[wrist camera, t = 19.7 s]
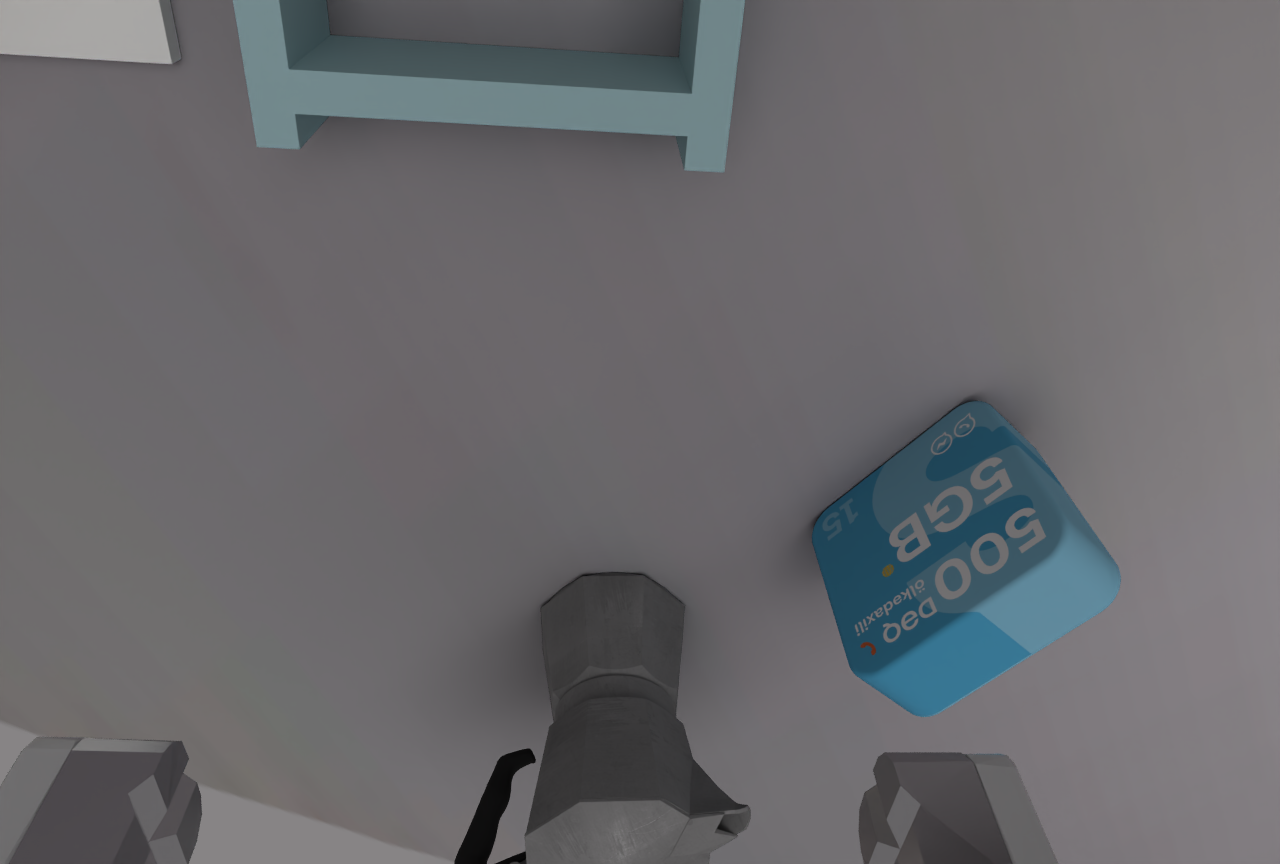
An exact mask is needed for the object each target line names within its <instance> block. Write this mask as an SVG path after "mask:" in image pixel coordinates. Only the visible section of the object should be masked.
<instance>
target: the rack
mask: <svg viewBox="0 0 1280 864" xmlns="http://www.w3.org/2000/svg"><path fill="white" fill-rule="evenodd" d="M233 4H234V10H235V16H236V22H237V28H238V34H239V40H240V46H241V52H242V58H243V65H244V71H245V77H246V83H247V89H248V95H249V101H250V107H251V113H252V119H253V125H254V131H255V137H256V143H257V147H267V148H285V149H300V148H301V147H302V146H303V145H304V144H305V143H306V142H307V141H308V139H309V138H310V137H311V136H312V135H313V134H314V133H315V132H316V130H317V129H318V128H319V127H320V126H321V125H322V124H323V123H324V121H325V120H326V119H327V118H328V117H329V116H340V117H357V118H375V119H392V120H410V121H427V122H445V123H462V124H479V125H497V126H514V127H532V128H549V129H567V130H584V131H602V132H619V133H636V134H654V135H671V136H676V140H677V144H678V147H679V151H680V155H681V159H682V163H683V167H684V170H689V171H707V172H724V170H725V162H726V154H727V145H728V137H729V129H730V121H731V113H732V104H733V96H734V88H735V80H736V71H737V63H738V55H739V47H740V38H741V30H742V22H743V14H744V5H745V0H684V2H683V14H682V25H681V37H680V48H679V57H667V56H652V55H636V54H620V53H604V52H589V51H573V50H557V49H542V48H526V47H510V46H495V45H479V44H463V43H447V42H432V41H416V40H400V39H385V38H369V37H353V36H337V35H330V28H329V19H328V10H327V1H326V0H233Z"/></svg>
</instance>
